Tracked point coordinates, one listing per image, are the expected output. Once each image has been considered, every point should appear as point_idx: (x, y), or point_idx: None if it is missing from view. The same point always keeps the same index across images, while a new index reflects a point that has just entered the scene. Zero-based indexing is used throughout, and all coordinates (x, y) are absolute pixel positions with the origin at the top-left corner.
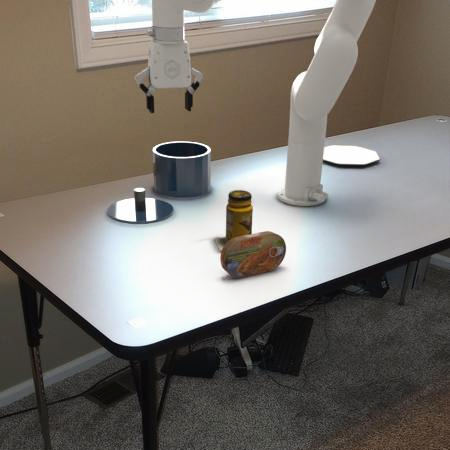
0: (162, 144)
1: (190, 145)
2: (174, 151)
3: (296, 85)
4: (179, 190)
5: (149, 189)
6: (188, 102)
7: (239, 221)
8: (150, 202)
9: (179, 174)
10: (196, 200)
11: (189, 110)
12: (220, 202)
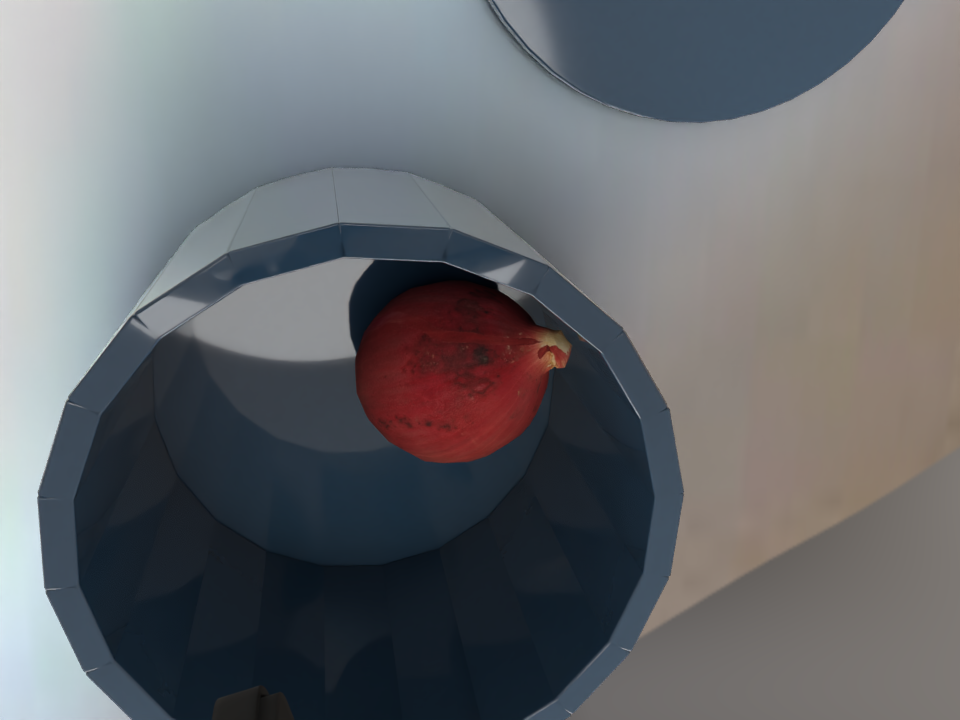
0: (572, 684)
1: None
2: (442, 694)
3: None
4: (390, 177)
5: None
6: None
7: None
8: (628, 4)
9: (398, 198)
10: (245, 149)
11: (251, 688)
12: (28, 91)
